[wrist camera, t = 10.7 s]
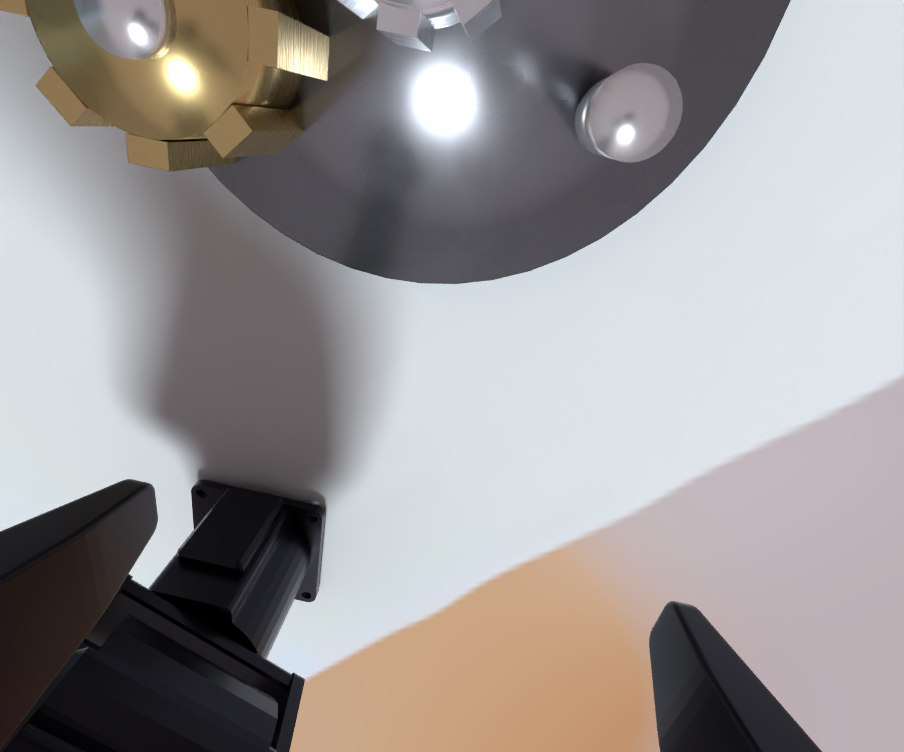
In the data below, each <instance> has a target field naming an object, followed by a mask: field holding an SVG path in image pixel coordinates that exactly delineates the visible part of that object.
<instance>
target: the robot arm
mask: <svg viewBox="0 0 904 752" xmlns="http://www.w3.org/2000/svg"><path fill="white" fill-rule="evenodd" d="M203 490H204V491H205V492H204V491H203ZM191 494H192V508H193V522H194V531H193V532H192V533H191V534H190V536H189V537H188V538H187V539H186V541H185V542H184V543H183V544H182V546H181V547H180V548H179V549H178V552H177V553H176V555H175V556H174V557H173V558H172V560H171V561H170V562H169V563H168V565H167V566H166V567H165V568H164V570H163V571H162V572H161V574H160V575H159V576H158V577H157V579H156V580H155V581H154V582H153V584H152V585H151V586H150V587H149V589H147V588H146V587H144V586H142V585H141V584H139V583H137V582H136V581H134V580H132V576H131V575H129V572H130V570H131V569H132V567H133V566H134V564H135V562H136V561H137V559H138V557H139V556H140V554H141V553H142V551H143V549H144V548H145V546H146V545H147V543H148V541H149V540H150V538H151V537H152V535H153V533H154V531H155V529H156V526H157V522H158V515H157V506H156V498H155V490H154V487H153V486H152V485H151V484H149V483H146V482H141V481H137V480H132V479H127V480H123V481H121V482H118V483H116V484H113V485H111V486H109V487H106V488H104V489H101V490H99V491H97V492H94V493H92V494H89V495H87V496H85V497H82V498H80V499H77V500H75V501H73V502H70V503H68V504H65V505H63V506H60V507H58V508H56V509H53V510H51V511H48V512H46V513H44V514H41V515H39V516H36V517H34V518H32V519H29V520H27V521H24V522H22V523H20V524H17V525H15V526H12V527H10V528H8V529H5V530H3V531H0V752H289V750H290V746H291V741H292V736H293V732H294V727H295V723H296V718H297V713H298V709H299V704H300V700H301V695H302V690H303V686H304V681H305V679H304V678H302V677H300V676H298V675H297V674H295V673H292V674H290V673H289V672H287V671H285V670H283V669H282V668H280V667H278V666H277V665H275V664H273V663H272V662H270V661H268V660H267V659H266V658H267V656H268V654H269V652H270V650H271V648H272V646H273V643H274V641H275V639H276V637H277V635H278V633H279V631H280V628H281V626H282V624H283V622H284V620H285V618H286V616H287V614H288V611H289V609H290V607H291V605H292V603H293V601H294V599H296V600H301V601H305V602H312V601H314V600H315V598H316V596H317V593H318V590H319V578H320V567H321V556H322V545H323V534H324V522H325V512H324V510H323V509H322V508H321V507H320V506H317V505H314V504H309V503H305V502H300V501H296V500H291V499H287V498H282V497H278V496H273V495H269V494H264V493H260V492H255V491H251V490H247V489H242V488H238V487H233V486H229V485H224V484H220V483H215V482H211V481H206V480H200V481H198V482H197V483H196V484H195V485H194V487H193V488H192V490H191ZM311 514H313V515H315V516H316V517H314V516H312V515H311ZM649 648H650V659H651V669H652V679H653V690H654V701H655V711H656V722H657V731H658V738H659V746H660V752H822V751H821V750H820V749H819V748H818V747H817V745H816V744H815V743H814V742H813V741H812V740H811V739H810V737H808V735H807V734H806V733H805V732H804V730H803V729H802V728H801V727H800V726H799V725H798V724H797V722H796V721H794V719H793V718H792V717H791V715H790V714H789V713H788V712H787V711H786V710H785V709H784V707H783V706H782V705H781V704H780V703H779V702H778V701H777V699H776V698H775V697H774V696H773V695H772V694H771V692H770V691H769V690H768V689H767V688H766V687H765V686H764V685H763V683H762V682H761V681H760V680H759V679H758V678H757V677H756V675H755V674H754V673H753V672H752V671H751V670H750V668H749V667H748V666H747V665H746V664H745V663H744V661H743V660H742V659H741V658H740V657H739V656H738V654H736V652H735V651H734V650H733V649H732V648H731V647H730V645H729V644H728V643H727V642H726V641H725V640H724V638H723V637H722V636H721V635H720V634H719V633H718V631H717V630H716V629H715V628H714V627H713V626H712V625H711V623H710V622H709V621H708V620H707V619H706V618H705V616H704V615H703V614H702V613H701V612H700V611H699V610H698V609H697V608H696V607H694V606H692V605H689V604H684V603H680V602H675V601H670V602H669V603H667V604H666V606H665V607H664V609H663V611H662V613H661V615H660V616H659V618H658V620H657V621H656V623H655V625H654V627H653V628H652V631H651V633H650V638H649Z"/></svg>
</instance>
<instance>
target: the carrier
mask: <svg viewBox="0 0 904 752" xmlns="http://www.w3.org/2000/svg"><path fill="white" fill-rule="evenodd" d="M789 3H790V0H0V10H1V11H6V12H10V13H14V14H19V15H23V16H27V17H30V18H31V21H32V24H33V27H34V29H35V32H36V34H37V36H38V39H39V41H40V43H41V45H42V47H43V49H44V51H45V53H46V55H47V56H48V58H49V60H50V61H51V63H52V65H53V66H54V67H50V69H49V70H48V71H47V72H46V74H45V75H44V76H43V77H42V78H41V80H40V81H39V82H38V83H37V85H36V86H37V88H38V89H39V90H40V91H41V92H42V93H43V94H44V96H45V97H46V98H47V99H48V100H49V101H50V103H51V104H52V105H53V106H54V107H55V108H56V109H57V111H58V112H59V113H60V114H61V115H62V116H63V118H64V119H65V120H66V121H67V122H68V123H69V125H70V126H116V127H118V128H120V129H122V130H124V131H127V132H129V133H131V134H126V143H127V153H128V162H129V163H132V164H137V165H141V166H146V167H151V168H156V169H160V170H165V171H177V170H185V169H193V168H201V167H208V168H209V169H210V170H211V171H212V172H213V173H214V175H215V176H216V177H217V178H218V179H219V180H220V181H221V183H222V184H223V185H224V186H225V187H227V188H228V189H229V190H230V191H231V192H232V193H233V194H234V195H235V196H236V197H237V198H239V199H240V200H241V201H242V202H243V203H244V204H245V205H246V206H247V207H248V208H249V209H250V210H252V211H253V212H254V213H255V214H257V215H258V216H259V217H261V218H262V219H263V220H265V221H266V222H268V223H269V224H270V225H272V226H273V227H274V228H276V229H277V230H278V231H280V232H281V233H283V234H284V235H285V236H287V237H289V238H291V239H292V240H294V241H296V242H298V243H299V244H301V245H303V246H305V247H306V248H308V249H310V250H312V251H313V252H315V253H317V254H319V255H321V256H324V257H326V258H329V259H331V260H333V261H336V262H338V263H340V264H343V265H345V266H348V267H350V268H353V269H356V270H360V271H363V272H367V273H370V274H374V275H378V276H381V277H385V278H390V279H397V280H404V281H410V282H417V283H442V284H460V283H469V282H478V281H487V280H494V279H498V278H502V277H507V276H511V275H515V274H519V273H523V272H527V271H531V270H533V269H536V268H538V267H541V266H544V265H546V264H549V263H552V262H554V261H557V260H559V259H562V258H565V257H567V256H569V255H571V254H572V253H574V252H576V251H578V250H580V249H582V248H584V247H586V246H588V245H589V244H591V243H593V242H595V241H597V240H599V239H601V238H602V237H604V236H605V235H607V234H608V233H610V232H611V231H613V230H614V229H615V228H617V227H618V226H620V225H621V224H623V223H624V222H626V221H627V220H628V219H630V218H631V217H633V216H634V215H636V214H637V213H638V212H639V211H640V210H642V209H643V208H644V207H645V206H646V205H647V204H648V203H650V202H651V201H652V200H653V199H654V198H655V197H656V196H658V195H659V194H660V193H661V192H662V191H663V190H664V189H666V188H667V187H668V186H669V185H670V184H671V183H672V182H673V181H674V180H675V179H676V178H677V177H678V176H679V175H680V174H681V172H682V171H683V170H684V169H685V168H686V167H687V166H688V165H689V164H690V163H691V162H692V160H693V159H694V158H695V157H696V156H697V155H698V154H699V153H700V152H701V151H702V150H703V148H704V147H705V146H706V145H707V143H708V142H709V141H710V139H711V138H712V137H713V135H714V134H715V133H716V131H717V130H718V128H719V127H720V126H721V124H722V123H723V122H724V120H725V119H726V118H727V116H728V115H729V114H730V112H731V111H732V109H733V108H734V107H735V105H736V104H737V102H738V101H739V99H740V97H741V95H742V94H743V92H744V90H745V89H746V87H747V85H748V84H749V82H750V80H751V79H752V77H753V75H754V73H755V72H756V70H757V68H758V67H759V65H760V63H761V62H762V60H763V58H764V56H765V55H766V52H767V50H768V48H769V46H770V44H771V42H772V39H773V37H774V35H775V33H776V31H777V29H778V26H779V24H780V22H781V20H782V18H783V16H784V13H785V11H786V9H787V7H788V5H789Z"/></svg>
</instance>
